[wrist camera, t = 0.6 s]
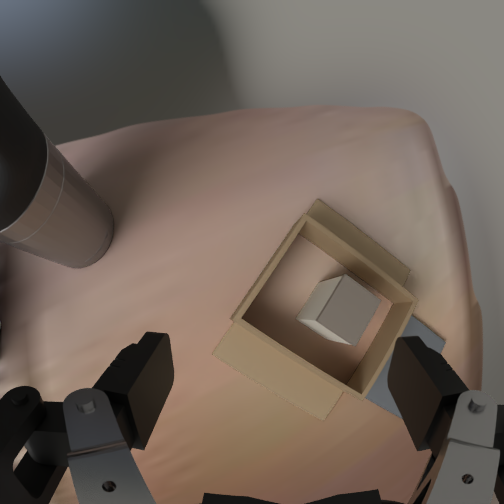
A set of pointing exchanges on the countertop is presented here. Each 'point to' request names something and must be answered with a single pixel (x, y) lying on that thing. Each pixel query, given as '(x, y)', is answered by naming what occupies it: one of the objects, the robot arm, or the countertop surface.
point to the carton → (291, 365)
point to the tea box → (339, 310)
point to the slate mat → (380, 387)
